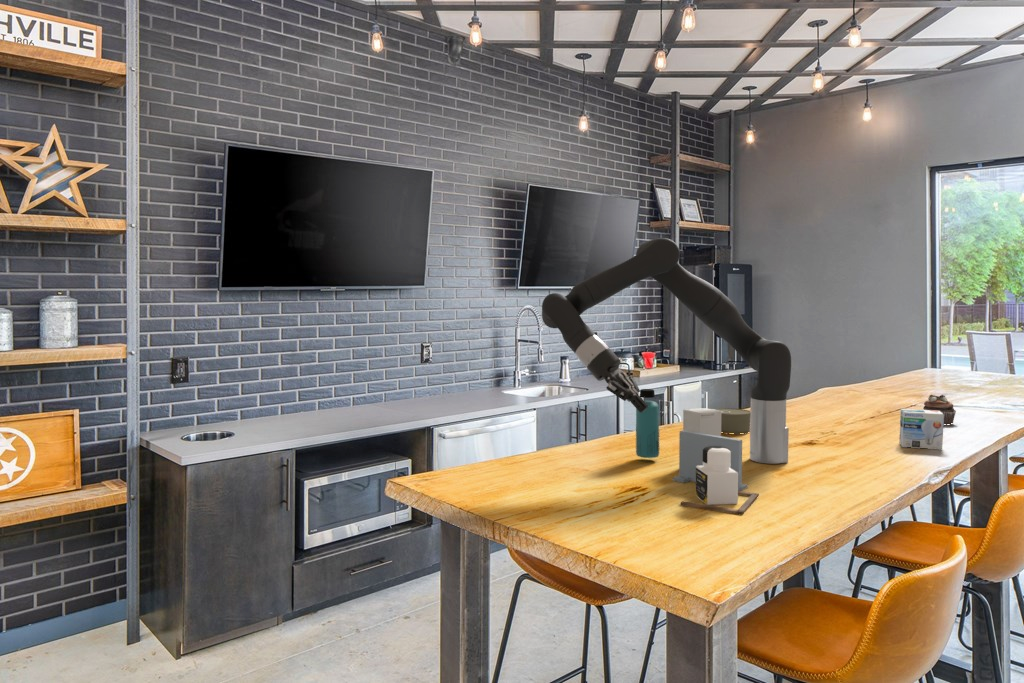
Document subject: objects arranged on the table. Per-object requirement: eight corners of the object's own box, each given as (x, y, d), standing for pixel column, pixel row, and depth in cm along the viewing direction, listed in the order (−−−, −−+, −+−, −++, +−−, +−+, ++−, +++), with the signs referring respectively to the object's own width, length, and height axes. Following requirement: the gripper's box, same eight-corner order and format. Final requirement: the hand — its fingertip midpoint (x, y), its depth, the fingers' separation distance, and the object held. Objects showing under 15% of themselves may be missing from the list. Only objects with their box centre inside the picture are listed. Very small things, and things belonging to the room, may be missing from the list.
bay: (680, 505, 149) (680, 502, 149) (700, 488, 162) (700, 485, 162) (742, 515, 142) (742, 512, 142) (758, 496, 155) (758, 493, 155)
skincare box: (698, 472, 176) (698, 412, 175) (680, 467, 182) (681, 409, 181) (722, 468, 180) (723, 410, 179) (704, 463, 186) (705, 406, 185)
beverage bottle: (659, 463, 186) (660, 390, 184) (634, 462, 187) (635, 390, 186) (659, 458, 192) (659, 387, 191) (635, 457, 193) (635, 387, 192)
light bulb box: (901, 447, 203) (902, 411, 202) (898, 443, 209) (899, 408, 208) (943, 450, 199) (945, 413, 198) (939, 445, 205) (940, 410, 204)
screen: (672, 480, 169) (673, 432, 168) (688, 475, 174) (688, 428, 173) (732, 493, 157) (733, 442, 156) (747, 487, 162) (748, 437, 161)
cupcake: (930, 425, 236) (931, 396, 235) (918, 420, 245) (919, 392, 245) (960, 426, 234) (961, 397, 234) (947, 421, 244) (948, 393, 243)
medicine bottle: (695, 496, 156) (695, 444, 155) (725, 495, 156) (726, 443, 156) (706, 505, 149) (707, 451, 148) (738, 504, 149) (738, 450, 149)
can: (755, 435, 223) (756, 414, 223) (718, 435, 224) (719, 414, 223) (743, 427, 235) (744, 408, 235) (708, 428, 235) (709, 408, 235)
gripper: (596, 349, 163) (645, 403, 157) (617, 345, 174) (664, 395, 168) (576, 370, 166) (624, 424, 160) (598, 365, 177) (644, 415, 171)
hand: (644, 409), depth 164 cm, fingers closed
